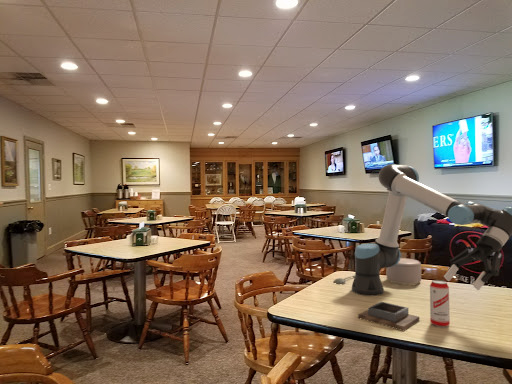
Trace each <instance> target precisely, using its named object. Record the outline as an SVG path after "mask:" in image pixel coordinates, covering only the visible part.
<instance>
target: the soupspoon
mask: <svg viewBox="0 0 512 384" xmlns="http://www.w3.org/2000/svg"><path fill="white" fill-rule="evenodd" d="M351 278H355V274H354V275H352V276H348V277H345V278H341V277H339V278H336V279H334V280H333V281H332V282H333V284H334V283H336V284H335V285H340V284H342V285H344V284H345V283H346V281H347V279H351Z"/></svg>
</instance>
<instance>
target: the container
mask: <svg viewBox="0 0 512 384" xmlns="http://www.w3.org/2000/svg"><path fill="white" fill-rule="evenodd" d="M385 274H386V279H387V280H389V282H391V283H392V284H396V285H404V286H412V285H417V284H419V283H420V282H422V263H421V261H419V260H417V259H413V258H405V257H404V258H403V257H401V258H400V261H399V262H398V263H397V264H396V265H394V266H392V267H386V272H385Z"/></svg>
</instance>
